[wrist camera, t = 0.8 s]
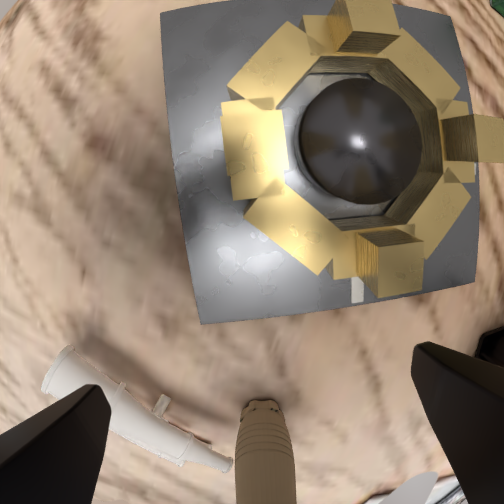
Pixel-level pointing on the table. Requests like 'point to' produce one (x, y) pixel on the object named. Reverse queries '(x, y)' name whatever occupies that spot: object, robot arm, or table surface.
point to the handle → (264, 457)
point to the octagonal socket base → (409, 201)
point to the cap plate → (207, 188)
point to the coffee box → (498, 6)
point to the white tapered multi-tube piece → (132, 414)
